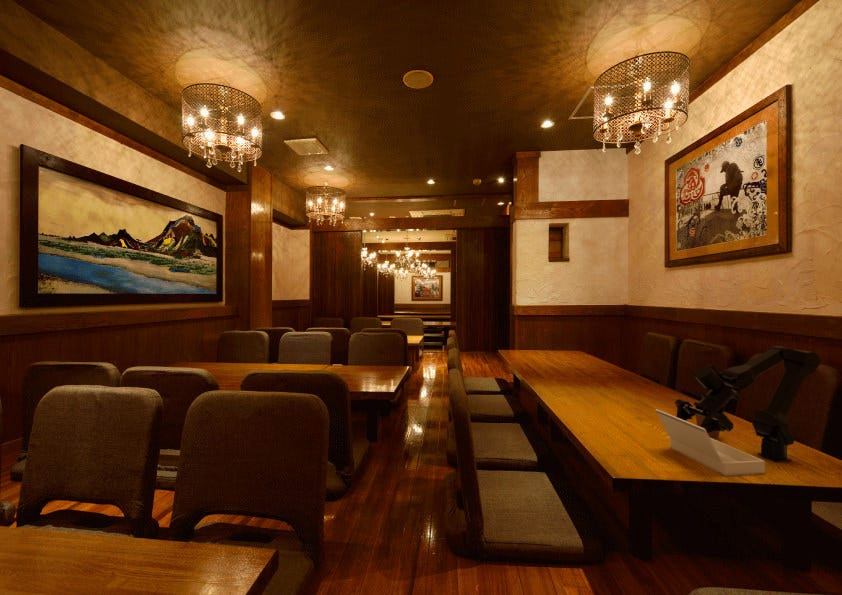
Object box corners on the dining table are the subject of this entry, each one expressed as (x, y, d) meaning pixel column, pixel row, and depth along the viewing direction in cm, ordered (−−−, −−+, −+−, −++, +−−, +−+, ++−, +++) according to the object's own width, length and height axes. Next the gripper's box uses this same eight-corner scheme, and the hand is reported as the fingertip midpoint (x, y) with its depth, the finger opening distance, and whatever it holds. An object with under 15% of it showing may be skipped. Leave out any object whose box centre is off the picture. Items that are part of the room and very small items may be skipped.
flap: (656, 408, 139) (655, 409, 138) (705, 428, 118) (703, 429, 118) (671, 437, 139) (669, 437, 139) (722, 461, 119) (720, 462, 119)
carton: (704, 446, 142) (704, 435, 142) (764, 473, 120) (765, 461, 120) (670, 447, 140) (670, 437, 140) (724, 476, 118) (724, 463, 118)
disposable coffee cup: (697, 439, 148) (698, 408, 148) (690, 431, 157) (690, 402, 157) (727, 443, 145) (728, 411, 145) (718, 434, 154) (718, 404, 154)
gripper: (757, 424, 121) (725, 460, 120) (707, 407, 140) (679, 438, 139) (736, 400, 120) (703, 436, 119) (688, 386, 139) (659, 416, 138)
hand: (685, 432), depth 129 cm, fingers closed on flap, 8 cm apart
